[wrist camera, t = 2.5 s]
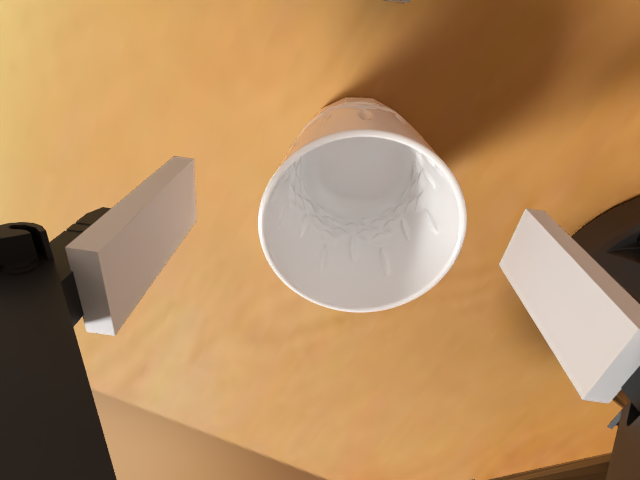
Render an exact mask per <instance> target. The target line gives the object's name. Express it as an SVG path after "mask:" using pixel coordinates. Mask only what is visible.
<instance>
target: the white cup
mask: <svg viewBox="0 0 640 480" xmlns="http://www.w3.org/2000/svg"><path fill="white" fill-rule="evenodd" d="M466 226H467V212H466V204H465V200H464V196H463V193H462V190H461V188H460V185H459V183H458V181H457V179H456V178H455V176H454V174H453V173H452V171H451V170H450V169H449V167H448V166H447V165H446V164H445V163H444V161H443V160H442V159H441V158H440V157H439V156H438V155H437V154H436V152H435V151H434V150H433V149H432V148H431V147H430V145H429V144H428V143H427V142H426V141H425V140H424V138H423V137H422V136H421V135H420V134H419V133H418V132H417V131H416V130H415V129H414V128H413V127H412V126H411V125H410V124H409V123H408V122H407V121H406V120H405V119H404V118H402V117H401V116H400V115H399V114H398V113H397V112H396V111H395V110H393V109H391V108H389V107H388V106H386V105H384V104H382V103H381V102H379V101H377V100H375V99H374V98H355V97H345V98H343V99H341V100H339V101H336V102H334V103H332V104H330V105H328V106H326V107H323V108H321V110H320V111H319V112H318V113H317V114H316V116H315V117H314V118H313V119H312V120H311V121H310V122H309V123H308V124H307V125H306V126H305V127H304V129H303V130H302V131H301V133H300V134H299V136H298V137H297V138H296V140H295V141H294V142H293V144H292V145H291V147H290V148H289V150H288V152H287V153H286V155H285V157H284V158H283V160H282V162H281V163H280V165H279V167H278V168H277V170H276V171H275V173H274V175H273V176H272V178H271V179H270V181H269V183H268V185H267V187H266V189H265V191H264V194H263V197H262V200H261V204H260V208H259V216H258V229H259V237H260V242H261V246H262V249H263V251H264V254H265V256H266V258H267V260H268V262H269V264H270V266H271V267H272V269H273V270H274V272H275V273H276V274H277V276H278V277H279V278H280V279H281V280H282V281H283V282H284V283H285V284H286V285H287V286H288V287H289V288H291V289H292V290H293V291H294V292H296V293H297V294H299V295H300V296H302V297H304V298H305V299H307V300H309V301H311V302H313V303H316V304H318V305H321V306H324V307H327V308H330V309H334V310H339V311H346V312H375V311H381V310H386V309H390V308H394V307H397V306H400V305H403V304H405V303H408V302H410V301H412V300H414V299H416V298H418V297H419V296H421V295H423V294H424V293H426V292H427V291H428V290H430V289H431V288H432V287H433V286H435V285H436V284H437V283H438V282H439V281H440V280H441V279H442V278H443V277H444V276H445V275H446V273H447V272H448V271H449V270H450V268H451V267H452V265H453V264H454V262H455V260H456V259H457V257H458V255H459V253H460V250H461V248H462V245H463V242H464V238H465V233H466Z"/></svg>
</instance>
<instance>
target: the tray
mask: <svg viewBox="0 0 640 480" xmlns="http://www.w3.org/2000/svg"><path fill="white" fill-rule="evenodd" d="M386 1H392V2H398V3H408V2H410V0H386Z"/></svg>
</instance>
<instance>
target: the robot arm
mask: <svg viewBox="0 0 640 480" xmlns="http://www.w3.org/2000/svg"><path fill="white" fill-rule="evenodd" d="M195 222H196V196H195V171H194V159H192V158H185V157H179V156H173V157H172V158H171V159H170V160H169V161H167V162H166V163H165V164H164V165H163V166H161V167H160V168H159V169H158V170H157V171H156V172H154V173H153V174H152V175H151V176H150V177H148V178H147V179H146V180H145V181H144V182H142V183H141V184H140V185H139V186H138V187H136V188H135V189H134V190H133V191H132V192H130V193H129V194H128V195H127V196H126V197H124V198H123V199H122V200H121V201H120V202H118V203H117V204H116V205H115V206H114V207H112V208H104V207H102V208H100V209H97V210H95V211H92V212H90V213H87V214H86V215H84V216H83V217H82V218H80V219H79V220H78V221H77V222H76V224H73V225H71V226H70V227H69V228H68V229H67V231H64V232H62V233H61V234H60V235H59V236H57V237H56V238H55V239H53V240H52V241H51V242H50V243H49V240H48V236H47V233H46V230H45V229H44V228H43V227H42V226H40V225H38V224H35V223H26V222H18V223H8V224H3V225H0V480H116V476H115V472H114V469H113V465H112V462H111V458H110V455H109V451H108V448H107V444H106V441H105V437H104V434H103V430H102V427H101V423H100V420H99V416H98V413H97V409H96V406H95V402H94V398H93V395H92V391H91V388H90V384H89V381H88V377H87V374H86V370H85V367H84V363H83V360H82V356H81V353H80V349H79V346H78V342H77V339H76V335H75V332H74V328H73V327H74V325H75V324H76V323H77V322H78V321H79V320H80V318H81V317H82V316H83V319H84V323H85V327H86V331H87V332H92V333H99V334H106V335H114V336H115V335H116V334H117V332H118V331H119V329H120V328H121V326H122V325H123V324H124V322H125V321H126V319H127V318H128V317H129V315H130V314H131V312H132V311H133V310H134V308H135V307H136V305H137V304H138V303H139V301H140V300H141V298H142V297H143V296H144V294H145V293H146V291H147V290H148V288H149V287H150V286H151V284H152V283H153V281H154V280H155V279H156V277H157V276H158V274H159V273H160V272H161V270H162V269H163V267H164V266H165V265H166V263H167V262H168V260H169V259H170V258H171V256H172V255H173V253H174V252H175V251H176V249H177V248H178V246H179V245H180V243H181V242H182V241H183V239H184V238H185V236H186V235H187V234H188V232H189V231H190V229H191V228H192V227H193V225H194V224H195ZM499 266H500V267H501V269H502V271H503V272H504V274H505V276H506V277H507V279H508V280H509V282H510V284H511V285H512V287H513V288H514V290H515V292H516V293H517V295H518V296H519V298H520V300H521V301H522V303H523V305H524V306H525V308H526V309H527V311H528V313H529V314H530V316H531V317H532V319H533V321H534V322H535V324H536V326H537V327H538V329H539V330H540V332H541V334H542V335H543V337H544V338H545V340H546V342H547V343H548V345H549V347H550V348H551V350H552V351H553V353H554V355H555V356H556V358H557V359H558V361H559V363H560V364H561V366H562V367H563V369H564V371H565V372H566V374H567V376H568V377H569V379H570V380H571V382H572V384H573V385H574V387H575V388H576V390H577V392H578V393H579V395H580V397H581V398H582V400H587V401H595V402H602V403H610V402H611V401H612V400H613V401H614V402H616V403H617V404H618V405H619V406H621V407H622V408H623V409H622V410H621V411H620V412H619V413H618V415H617V416H616V417H615V418H614V419H613V420H612V421H611V422H610V424H609V425H608V426H607V427H609V428H611V429H612V428H613V427H614V426H615V425H618V429H617V434H616V438H615V442H614V446H613V451H612V452H611V453H607V454H602V455H598V456H593V457H589V458H584V459H580V460H575V461H571V462H566V463H562V464H557V465H553V466H548V467H544V468H539V469H535V470H530V471H526V472H521V473H517V474H512V475H508V476H503V477H499V478H494V479H489V480H640V197H638V198H636V199H633V200H631V201H628V202H626V203H624V204H621V205H619V206H617V207H615V208H613V209H611V210H610V211H608V212H606V213H604V214H603V215H601V216H599V217H598V218H596V219H595V220H593V221H592V222H590V223H589V224H587V225H586V226H585V227H584V228H582V229H581V230H580V231H578V232H577V233H576V234H575V235H574V236H573V237H572V238H571V237H570V236H569V235H568V234H567V233H566V232H565V231H564V230H563V229H562V228H561V227H560V226H559V225H558V224H557V223H556V222H555V221H554V220H553V219H552V218H551V217H550V216H549V215H548V214H547V213H546V212H545V211H540V210H533V209H525V211H524V213H523V215H522V217H521V219H520V221H519V224H518V226H517V228H516V230H515V232H514V234H513V236H512V238H511V241H510V243H509V245H508V247H507V249H506V251H505V253H504V255H503V258H502V260H501V262H500V264H499ZM472 480H475V479H472Z"/></svg>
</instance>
